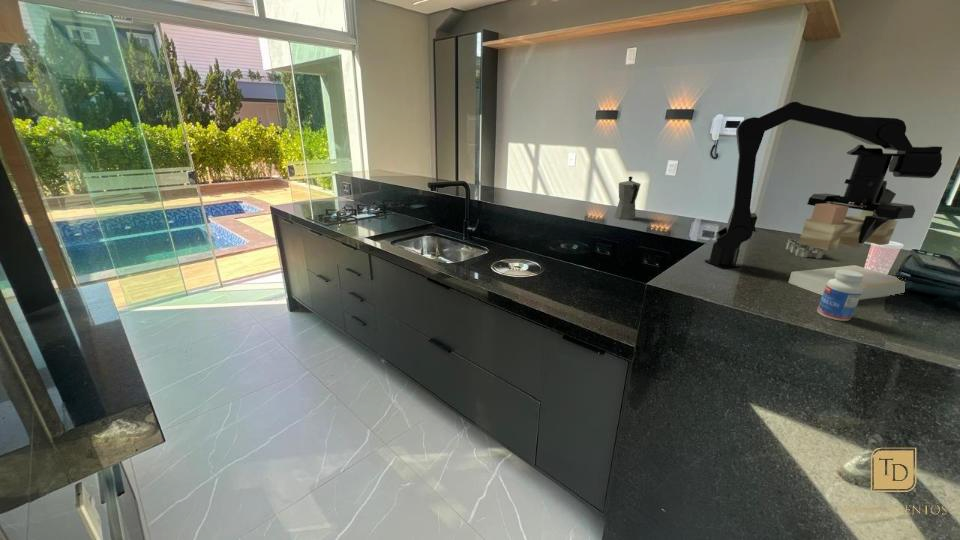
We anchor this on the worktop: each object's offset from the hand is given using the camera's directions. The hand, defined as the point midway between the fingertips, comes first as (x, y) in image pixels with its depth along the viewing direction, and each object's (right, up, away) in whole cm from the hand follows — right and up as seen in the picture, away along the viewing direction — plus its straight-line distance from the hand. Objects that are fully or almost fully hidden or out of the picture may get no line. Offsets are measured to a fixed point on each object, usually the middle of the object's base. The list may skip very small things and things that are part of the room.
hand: (844, 239), depth 94 cm
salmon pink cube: (-8, +4, -4) cm, 10 cm away
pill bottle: (-17, -17, -15) cm, 29 cm away
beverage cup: (+17, -9, +9) cm, 21 cm away
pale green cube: (+8, +5, 0) cm, 10 cm away
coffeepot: (-27, +15, +73) cm, 79 cm away
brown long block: (0, -1, 0) cm, 1 cm away
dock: (0, -12, -1) cm, 12 cm away
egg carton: (+12, -3, +26) cm, 29 cm away
